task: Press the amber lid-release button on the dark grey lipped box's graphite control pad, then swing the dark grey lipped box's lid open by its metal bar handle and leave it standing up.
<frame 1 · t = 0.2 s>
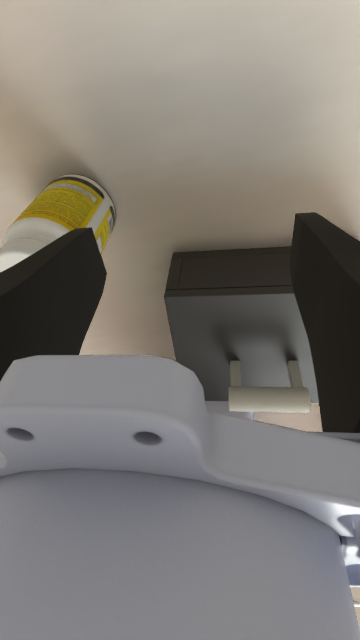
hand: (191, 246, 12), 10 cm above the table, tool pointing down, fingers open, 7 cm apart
supplement bottle: (82, 207, 22), on the table
dark grey lipped box: (258, 305, 27), on the table
lid: (266, 374, 22), point 7 cm above the table, hinge at 0.0°
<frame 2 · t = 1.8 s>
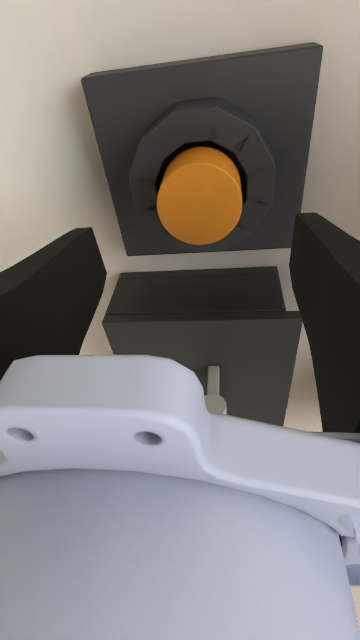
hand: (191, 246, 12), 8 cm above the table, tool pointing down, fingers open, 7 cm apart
dark grey lipped box: (202, 334, 27), on the table
control pad: (204, 164, 18), on the table
lid: (204, 406, 22), point 7 cm above the table, hinge at 0.0°
start button: (200, 197, 15), point 4 cm above the table, slide at 0.1 cm
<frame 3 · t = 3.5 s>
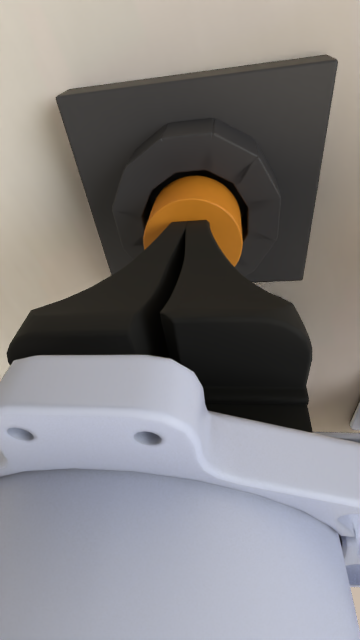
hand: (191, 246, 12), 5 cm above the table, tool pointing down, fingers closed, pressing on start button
control pad: (199, 189, 16), on the table
start button: (194, 233, 13), point 4 cm above the table, slide at 0.1 cm, touching gripper
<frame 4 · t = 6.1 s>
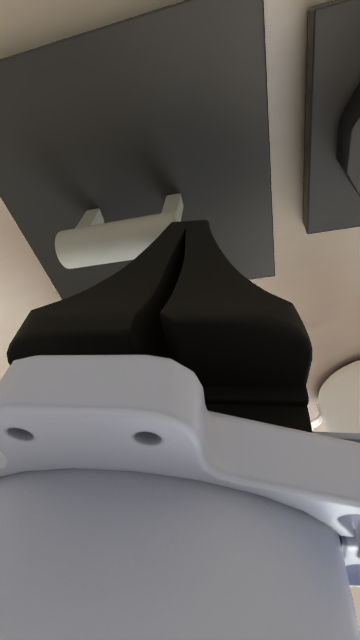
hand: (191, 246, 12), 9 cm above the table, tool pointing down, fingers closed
lid: (122, 209, 14), point 7 cm above the table, hinge at 0.0°
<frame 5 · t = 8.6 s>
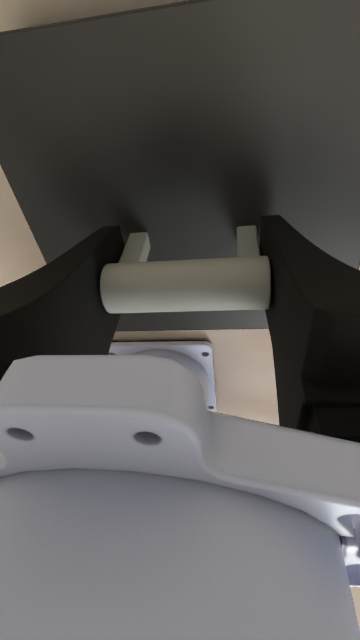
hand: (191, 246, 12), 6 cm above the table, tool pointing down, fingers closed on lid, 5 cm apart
lid: (186, 241, 11), point 7 cm above the table, hinge at 0.0°, touching gripper
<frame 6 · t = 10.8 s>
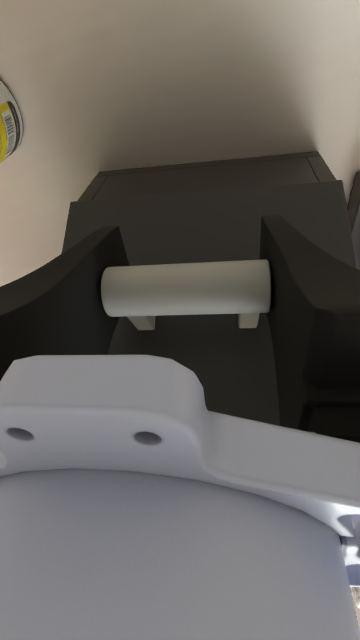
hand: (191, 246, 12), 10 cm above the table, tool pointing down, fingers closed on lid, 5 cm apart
dark grey lipped box: (208, 243, 23), on the table
lid: (191, 288, 12), point 11 cm above the table, hinge at 63.4°, touching gripper
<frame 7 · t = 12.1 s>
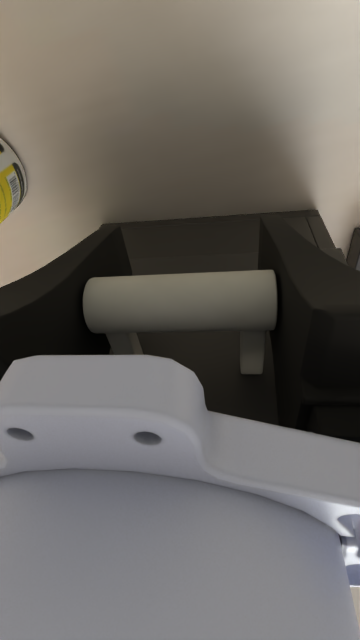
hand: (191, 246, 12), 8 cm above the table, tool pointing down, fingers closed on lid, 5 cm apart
dark grey lipped box: (209, 289, 23), on the table
lid: (187, 320, 11), point 11 cm above the table, hinge at 85.8°, touching gripper
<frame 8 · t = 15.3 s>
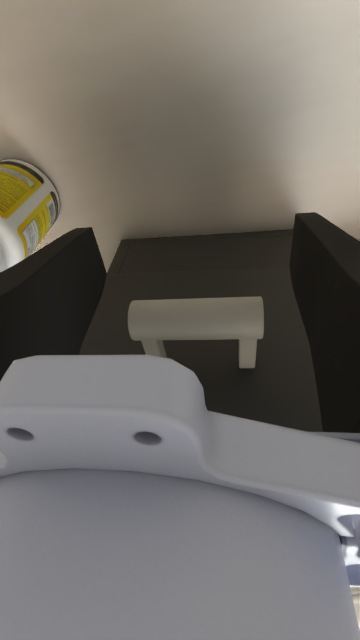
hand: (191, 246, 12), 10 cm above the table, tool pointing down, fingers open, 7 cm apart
supplement bottle: (27, 194, 22), on the table
dark grey lipped box: (213, 294, 26), on the table
lid: (199, 328, 14), point 11 cm above the table, hinge at 84.3°
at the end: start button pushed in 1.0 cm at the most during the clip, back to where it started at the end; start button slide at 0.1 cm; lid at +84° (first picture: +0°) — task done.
